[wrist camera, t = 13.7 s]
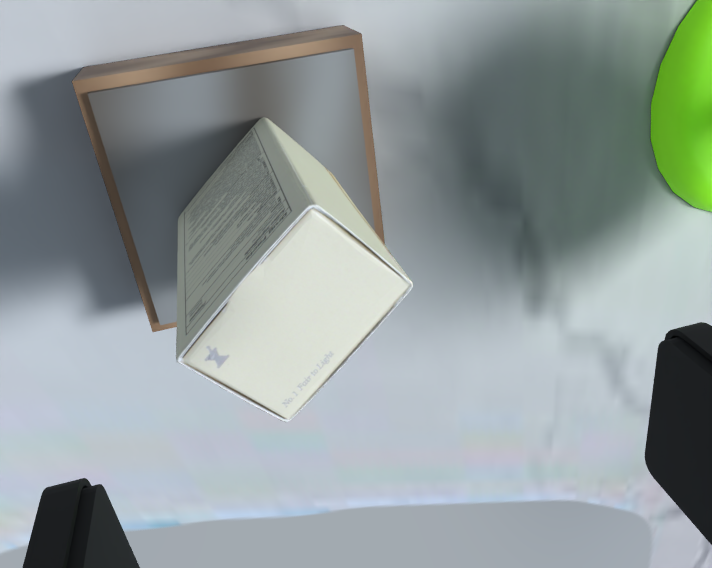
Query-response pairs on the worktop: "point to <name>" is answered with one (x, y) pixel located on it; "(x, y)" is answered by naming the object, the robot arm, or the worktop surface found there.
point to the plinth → (220, 133)
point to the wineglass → (686, 109)
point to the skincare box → (278, 275)
